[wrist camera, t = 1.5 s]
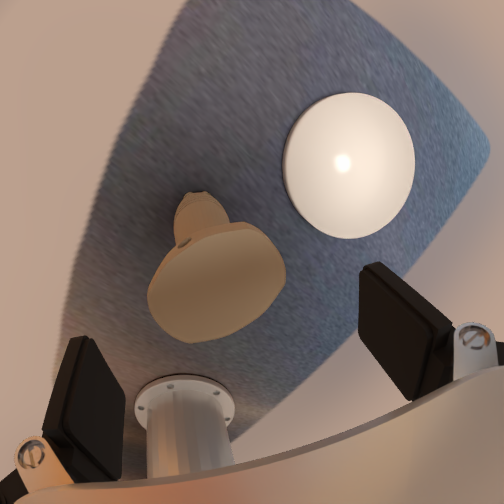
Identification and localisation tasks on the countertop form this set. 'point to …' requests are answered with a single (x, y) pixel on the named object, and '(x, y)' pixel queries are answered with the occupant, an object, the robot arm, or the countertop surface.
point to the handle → (213, 273)
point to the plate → (348, 165)
